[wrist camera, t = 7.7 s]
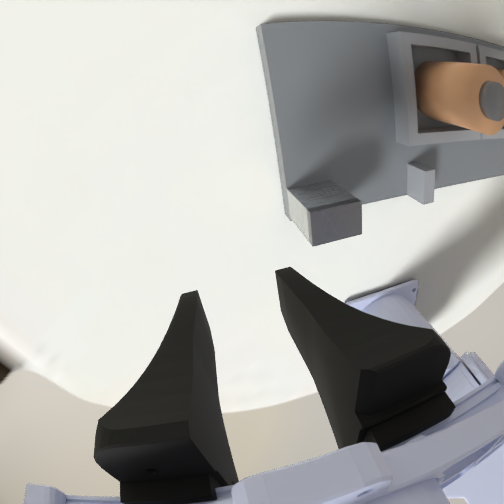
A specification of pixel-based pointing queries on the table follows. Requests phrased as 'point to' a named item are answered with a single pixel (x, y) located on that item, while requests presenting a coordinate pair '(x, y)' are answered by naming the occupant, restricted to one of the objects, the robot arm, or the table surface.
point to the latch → (325, 212)
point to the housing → (369, 109)
